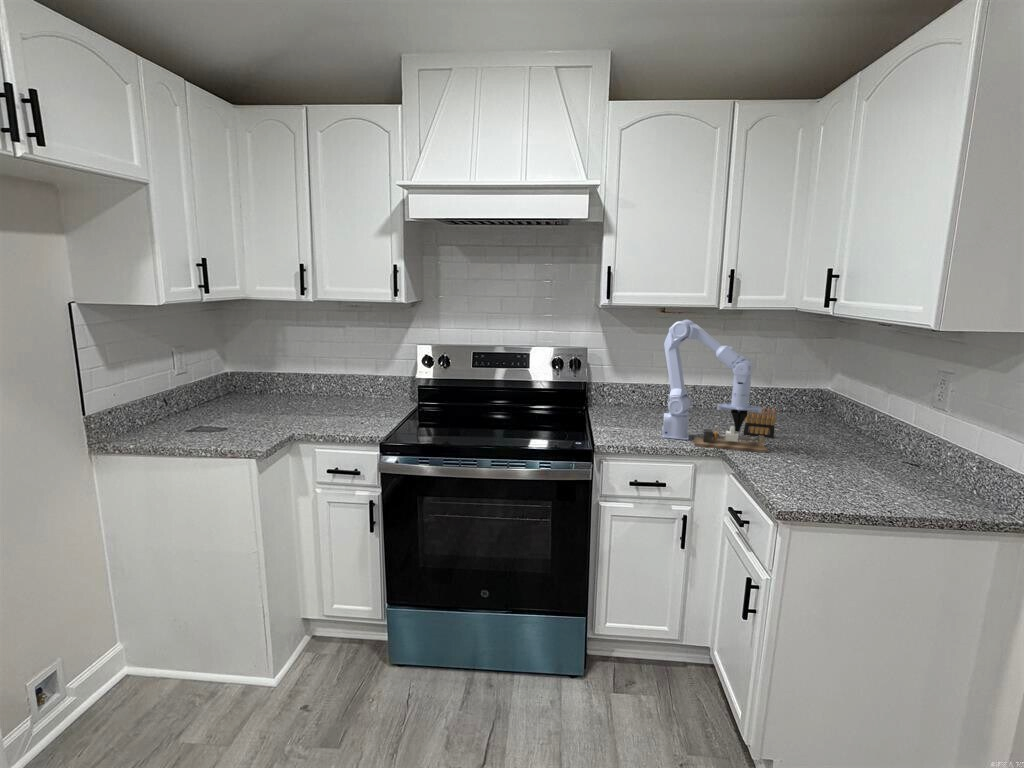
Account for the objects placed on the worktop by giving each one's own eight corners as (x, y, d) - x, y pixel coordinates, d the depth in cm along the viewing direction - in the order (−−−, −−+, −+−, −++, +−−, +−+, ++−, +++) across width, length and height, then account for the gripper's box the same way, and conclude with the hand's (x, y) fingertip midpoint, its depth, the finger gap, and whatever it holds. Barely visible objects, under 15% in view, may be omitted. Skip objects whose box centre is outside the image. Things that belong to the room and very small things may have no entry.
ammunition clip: (773, 437, 212) (776, 406, 210) (773, 438, 210) (777, 407, 208) (743, 434, 216) (746, 404, 213) (743, 435, 214) (746, 405, 212)
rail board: (694, 446, 199) (695, 432, 198) (694, 439, 208) (695, 426, 207) (767, 453, 193) (768, 438, 192) (763, 445, 201) (764, 432, 200)
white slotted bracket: (725, 440, 199) (727, 427, 198) (725, 438, 202) (726, 425, 201) (737, 441, 198) (739, 428, 197) (736, 439, 201) (738, 426, 200)
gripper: (719, 394, 194) (716, 431, 197) (764, 397, 190) (760, 435, 193) (718, 390, 201) (715, 426, 203) (761, 393, 197) (757, 430, 199)
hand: (737, 430), depth 199 cm, fingers closed
